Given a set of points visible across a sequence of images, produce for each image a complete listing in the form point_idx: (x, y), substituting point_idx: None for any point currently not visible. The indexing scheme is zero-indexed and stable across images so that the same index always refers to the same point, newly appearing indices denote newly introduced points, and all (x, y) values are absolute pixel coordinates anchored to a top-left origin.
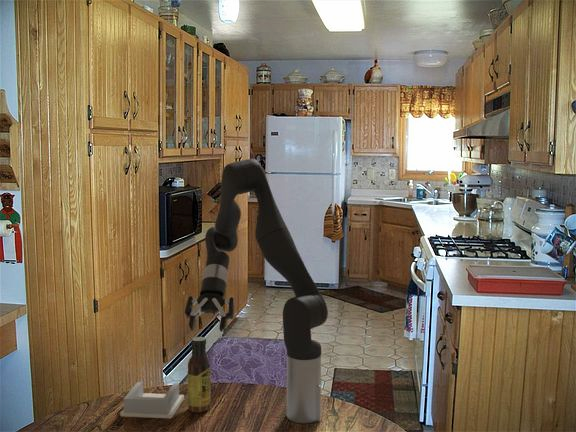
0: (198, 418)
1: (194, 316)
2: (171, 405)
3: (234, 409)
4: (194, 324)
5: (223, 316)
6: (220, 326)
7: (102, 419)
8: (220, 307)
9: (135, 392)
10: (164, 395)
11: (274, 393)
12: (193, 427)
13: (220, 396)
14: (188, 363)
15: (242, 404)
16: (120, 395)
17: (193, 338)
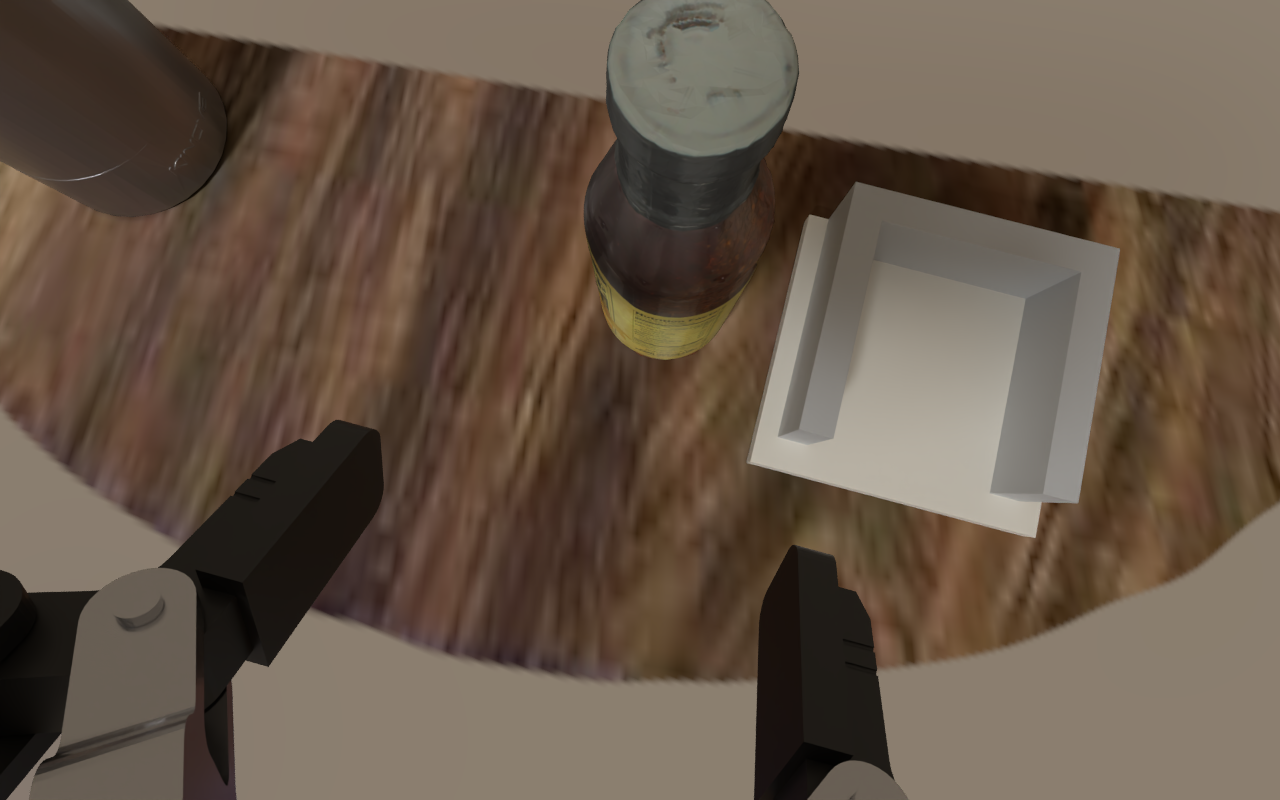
0: None
1: (805, 736)
2: (818, 279)
3: (477, 271)
4: (769, 673)
5: (179, 577)
6: (345, 439)
7: (1148, 271)
8: (71, 798)
9: (1061, 350)
10: (864, 469)
11: (216, 440)
12: None
13: (536, 451)
14: (772, 181)
15: (426, 324)
16: (1119, 565)
17: (773, 81)
